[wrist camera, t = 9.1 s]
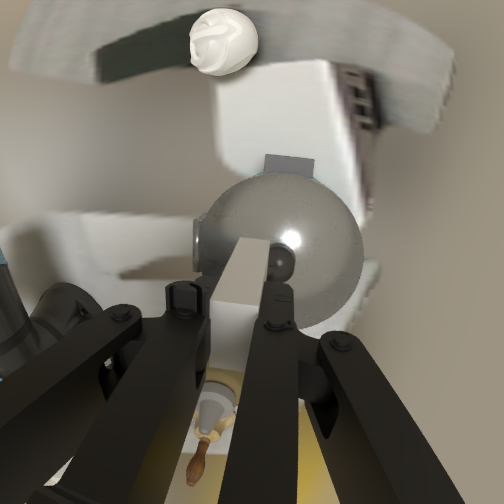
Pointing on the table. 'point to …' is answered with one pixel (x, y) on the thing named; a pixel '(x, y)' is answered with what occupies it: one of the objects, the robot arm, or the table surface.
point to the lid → (287, 239)
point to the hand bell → (205, 447)
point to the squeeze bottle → (218, 396)
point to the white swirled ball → (222, 42)
